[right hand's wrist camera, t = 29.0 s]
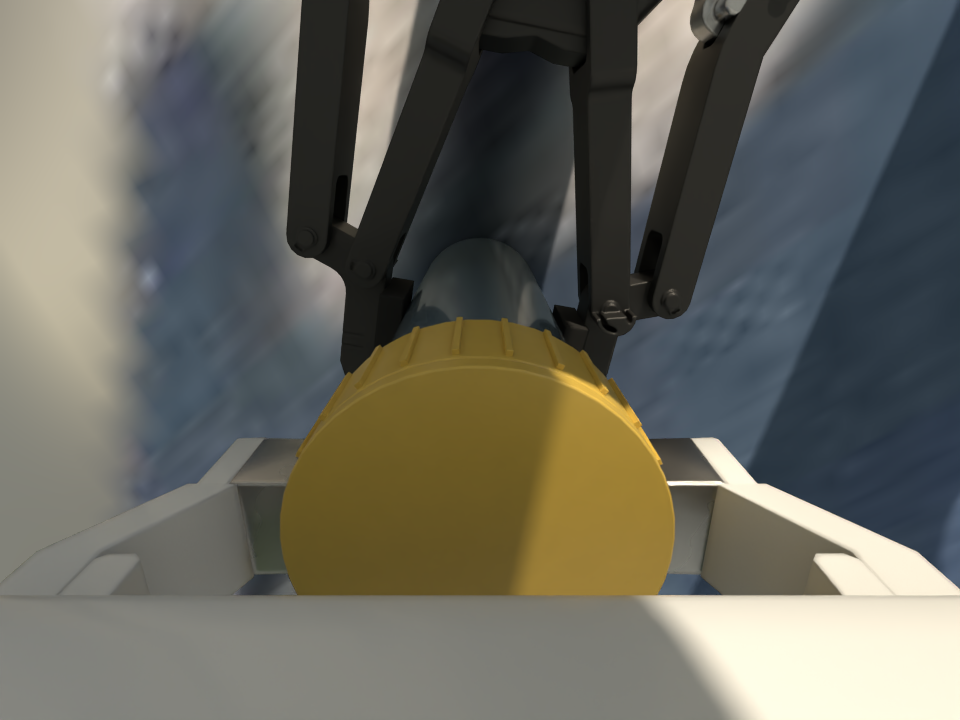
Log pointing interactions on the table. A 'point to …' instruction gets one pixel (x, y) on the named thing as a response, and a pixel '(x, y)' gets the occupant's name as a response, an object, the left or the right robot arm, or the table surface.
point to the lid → (477, 475)
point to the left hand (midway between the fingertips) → (455, 465)
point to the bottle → (479, 289)
